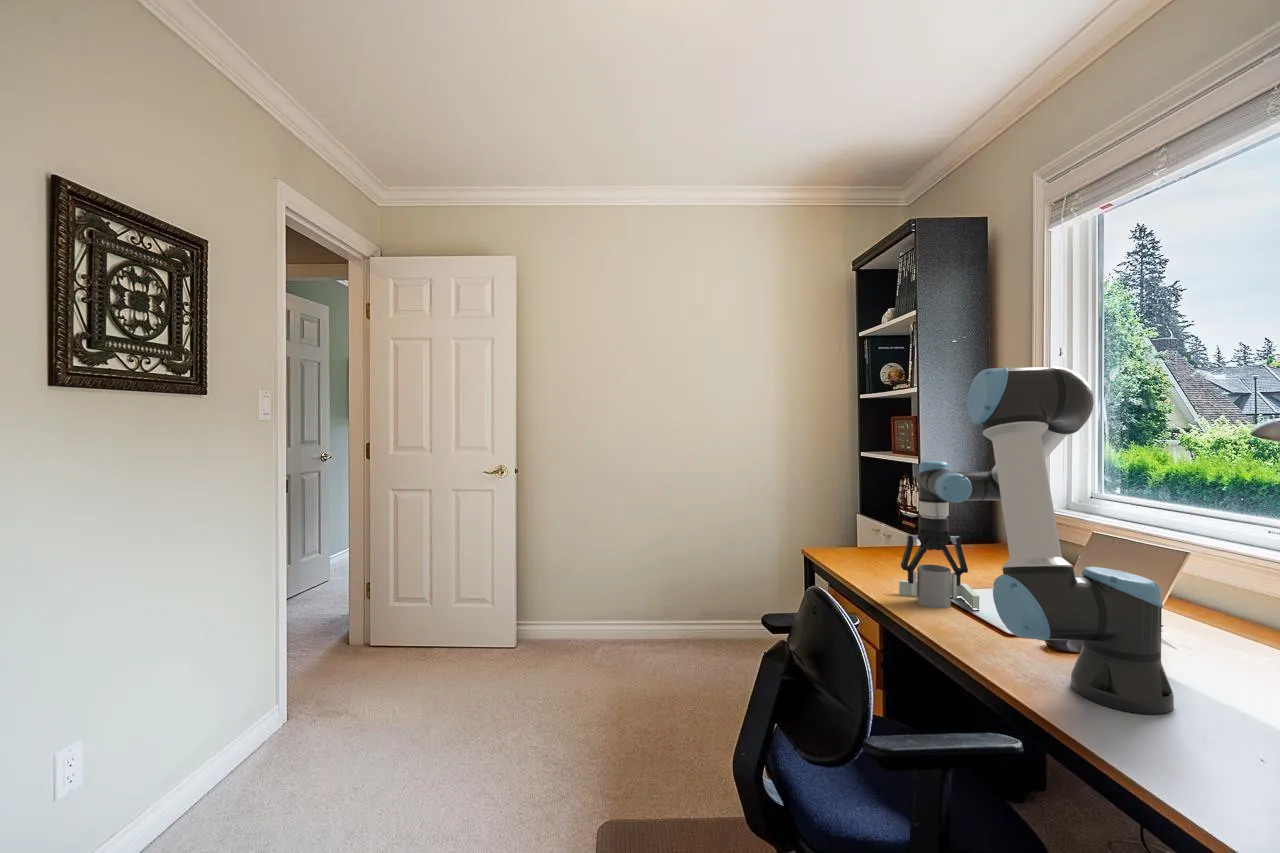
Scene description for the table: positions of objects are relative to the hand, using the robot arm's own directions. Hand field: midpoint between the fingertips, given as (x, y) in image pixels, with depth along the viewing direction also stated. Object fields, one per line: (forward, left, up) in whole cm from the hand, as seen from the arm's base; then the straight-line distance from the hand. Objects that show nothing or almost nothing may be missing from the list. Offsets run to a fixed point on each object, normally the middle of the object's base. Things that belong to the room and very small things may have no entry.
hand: (933, 595), depth 169 cm
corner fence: (+2, -1, -2) cm, 3 cm away
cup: (0, 0, -2) cm, 2 cm away
